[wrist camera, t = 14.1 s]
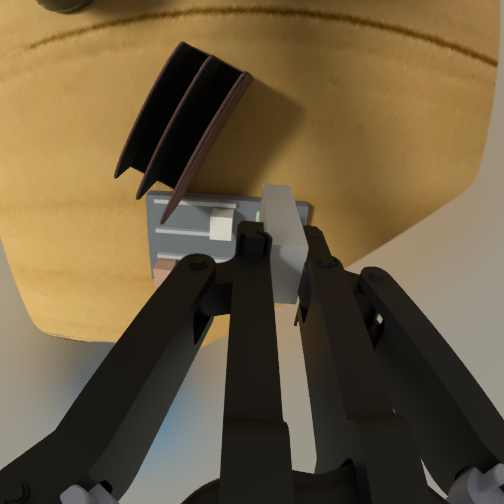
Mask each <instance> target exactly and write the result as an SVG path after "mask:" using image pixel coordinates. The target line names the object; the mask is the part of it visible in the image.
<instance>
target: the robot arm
mask: <svg viewBox="0 0 504 504" xmlns="http://www.w3.org/2000/svg"><path fill="white" fill-rule="evenodd" d="M36 1H37V2H38V3H39V5H40V6H42V7H43V8H45V9H47V10H50V11H54V12H59V13H67V12H72V11H76V10H79V9H81V8H83V7H85V6H87V5H88V4H90V3H92V2H93V1H94V0H36ZM298 295H299V300H300V302H299V306H298V310H297V314H296V318H295V322H294V326H297V322H298V321H299V326H300V332H301V340H302V346H303V353H304V360H305V367H306V375H307V381H308V389H309V397H310V404H311V412H312V420H313V428H314V437H315V445H316V454H317V462H316V467H315V472H314V474H312V473H305V472H300V471H295V470H292V464H291V449H290V436H289V428H288V425H287V423H286V422H284V421H283V415H282V403H281V387H280V374H279V361H278V348H277V336H276V323H275V311H274V303H285V304H296V302H297V298H298ZM225 314H230V325H229V339H228V353H227V368H226V383H225V399H224V415H223V431H222V450H221V468H220V478H218V479H216V480H213V481H211V482H209V483H207V484H205V485H203V486H201V487H200V488H199V489H197V490H196V491H194V492H193V493H192V494H191V495H190V496H189V497H187V498H186V499H185V500H184V501H183V502H182V503H181V504H504V420H503V418H502V417H501V415H500V414H499V412H498V411H497V410H496V408H495V407H494V405H493V404H492V402H491V401H490V399H489V398H488V397H487V395H486V394H485V392H484V391H483V389H482V388H481V387H480V385H479V384H478V383H477V381H476V380H475V378H474V377H473V376H472V375H471V373H470V372H469V370H468V369H467V368H466V367H465V366H464V364H463V362H462V361H461V360H460V358H459V357H458V356H457V355H456V353H455V352H454V351H453V349H452V348H451V347H450V346H449V344H448V343H447V342H446V341H445V339H444V338H443V337H442V336H441V334H440V333H439V332H438V331H437V329H436V328H435V327H434V326H433V325H432V323H431V322H430V321H429V320H428V319H427V317H426V316H425V315H424V314H423V313H422V311H421V310H420V309H419V308H418V306H417V305H416V304H415V303H414V302H413V301H412V300H411V299H410V297H409V296H408V295H407V294H406V293H405V291H404V290H403V289H402V288H401V287H400V286H399V285H398V283H397V282H396V281H395V280H394V279H393V278H392V277H391V276H390V275H389V274H388V273H387V272H386V271H384V270H382V269H381V268H377V267H365V268H363V269H362V271H361V273H360V275H359V274H355V273H352V272H349V271H346V270H344V268H343V265H342V263H341V262H340V260H338V259H337V258H336V257H334V256H331V253H330V251H329V248H328V245H327V244H326V240H325V239H324V235H323V233H322V231H321V230H319V229H318V228H317V227H316V226H306V225H302V223H301V220H300V217H299V213H298V210H297V207H296V203H295V200H294V197H293V194H292V191H291V187H290V186H282V185H272V184H263V188H262V197H261V205H260V213H259V222H255V221H244V220H242V221H241V222H240V223H239V224H238V226H237V236H236V248H235V255H234V256H233V258H231V259H230V260H228V261H225V262H221V263H216V262H215V260H214V259H213V258H212V257H211V256H208V255H206V254H200V253H194V254H189V255H186V256H184V257H183V258H182V259H181V260H180V261H179V262H178V263H177V265H176V266H175V267H174V268H173V270H172V271H171V272H170V273H169V275H168V276H167V277H166V279H165V280H164V281H163V282H162V284H161V285H160V286H159V287H158V289H157V290H156V291H155V293H154V294H153V295H152V296H151V298H150V299H149V300H148V302H147V303H146V304H145V306H144V307H143V308H142V309H141V311H140V312H139V313H138V315H137V316H136V317H135V319H134V320H133V321H132V323H131V324H130V325H129V327H128V328H127V329H126V331H125V332H124V333H123V335H122V336H121V337H120V339H119V340H118V341H117V343H116V344H115V345H114V347H113V348H112V350H111V351H110V352H109V354H108V355H107V356H106V358H105V359H104V361H103V362H102V363H101V365H100V366H99V367H98V369H97V370H96V372H95V373H94V374H93V376H92V377H91V379H90V380H89V381H88V383H87V384H86V386H85V387H84V389H83V390H82V392H81V393H80V394H79V396H78V397H77V399H76V400H75V402H74V403H73V404H72V406H71V407H70V409H69V410H68V412H67V413H66V415H65V416H64V418H63V419H62V421H61V422H60V424H59V425H58V427H57V428H56V430H55V431H54V432H52V433H51V434H49V435H48V436H47V437H45V438H44V439H43V440H41V441H40V442H38V443H37V444H36V445H34V446H33V447H32V448H30V449H29V450H27V451H26V452H25V453H24V454H22V455H21V456H19V457H18V458H16V459H15V460H14V461H12V462H11V463H10V464H8V465H7V466H5V467H4V468H3V469H2V470H0V504H119V502H118V501H119V500H120V499H121V497H122V496H123V495H124V493H125V492H126V491H127V490H128V488H129V487H130V485H131V483H132V482H133V480H134V478H135V476H136V475H137V473H138V471H139V469H140V467H141V465H142V463H143V460H144V459H145V457H146V455H147V453H148V451H149V449H150V446H151V445H152V443H153V440H154V438H155V436H156V434H157V432H158V430H159V428H160V426H161V424H162V422H163V420H164V418H165V416H166V414H167V412H168V410H169V408H170V406H171V404H172V402H173V400H174V398H175V396H176V394H177V392H178V390H179V388H180V386H181V384H182V382H183V380H184V378H185V376H186V374H187V372H188V370H189V368H190V366H191V364H192V362H193V360H194V358H195V356H196V354H197V352H198V350H199V348H200V346H201V344H202V342H203V340H204V338H205V336H206V334H207V332H208V330H209V328H210V326H211V324H212V322H213V319H214V316H218V315H225ZM379 314H380V316H381V317H382V319H383V320H382V323H381V324H380V323H379V322H378V320H377V317H378V315H379ZM393 409H394V411H395V413H394V411H393ZM420 457H421V458H420ZM421 459H422V461H423V463H424V465H425V467H426V468H427V470H428V472H429V473H430V475H431V476H432V478H433V480H434V481H435V482H436V483H437V485H438V486H439V487H440V489H441V490H442V491H443V492H444V493H445V494H446V495H447V496H448V497H447V498H446V499H444V498H443V497H441V496H440V495H439V494H438V493H436V492H435V491H434V490H433V489H432V488H430V487H429V486H428V485H427V481H426V477H425V473H424V469H423V465H422V462H421Z"/></svg>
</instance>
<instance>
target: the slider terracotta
mask: <svg viewBox="0 0 504 504" xmlns="http://www.w3.org/2000/svg"><path fill="white" fill-rule="evenodd" d="M175 266H176V259H165V258H158V260H157V262H156V264H155V266H154V268H153V273H154V283H155V287H159V286H160V285H161V284H162V282H163V281H164V280H165V279H166V277H167V276H168V275H169V273H170V272H171V271H172V270H173V268H174V267H175Z"/></svg>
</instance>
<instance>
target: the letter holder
mask: <svg viewBox="0 0 504 504" xmlns="http://www.w3.org/2000/svg"><path fill="white" fill-rule="evenodd" d="M252 80H253V77H252V76H251V74H250V73H248V72H246V71H245V72H243V71H241V70H239V69H237V68H235V67H233V66H232V65H230V64H228V63H226V62H224V61H222V60H220V59H218V58H217V57H215V56H214V55H210V54H208V53H205V52H203V51H201V50H199V49H197V48H195V47H192V46H191V45H189V44H187V43H185V42H183V41H182V42H180V43H179V44H178V46H177V47H176V48H175V50H174V51H173V53H172V54H171V56H170V57H169V59H168V60H167V62H166V64H165V65H164V67H163V69H162V71H161V72H160V74H159V76H158V78H157V80H156V82H155V83H154V85H153V87H152V89H151V91H150V92H149V94H148V96H147V98H146V100H145V102H144V105H143V106H142V108H141V110H140V113H139V115H138V117H137V119H136V121H135V123H134V126H133V128H132V130H131V132H130V134H129V136H128V139H127V141H126V144H125V146H124V148H123V151H122V153H121V156H120V159H119V161H118V164H117V167H116V170H115V174H114V178H115V179H116V178H118V177H119V176H120V175H121V174H122V173H123V172H125V171H126V170H127V169H128V168H129V167H132V168H134V169H136V170H138V171H140V172H143V173H144V177H143V179H142V182H141V184H140V187H139V189H138V191H137V194H136V200H139V199H140V198H141V197H142V196H143V195H144V194H145V193H146V192H147V191H148V190H149V189H150V187H151V186H152V185H153V184H154V183H155V182H156V181H159V182H162V183H163V184H165V185H167V186H169V187H171V188H173V189H175V190H174V192H173V194H172V196H171V198H170V200H169V202H168V204H167V206H166V208H165V210H164V213H163V215H162V217H161V220H160V225H162V224H165V222H166V221H167V219H168V218H169V216H170V215H171V214H172V213H173V211H174V210H175V209H176V207H177V206H178V204H179V203H180V201H181V200H182V198H183V197H184V196H185V194H186V193H187V191H188V189H189V187H190V185H191V183H192V181H193V179H194V177H195V175H196V173H197V172H198V170H199V168H200V166H201V165H202V163H203V161H204V159H205V157H206V156H207V154H208V152H209V150H210V148H211V147H212V145H213V143H214V142H215V140H216V138H217V136H218V135H219V133H220V131H221V129H222V128H223V126H224V124H225V123H226V121H227V119H228V118H229V116H230V114H231V113H232V111H233V109H234V108H235V106H236V105H237V103H238V101H239V100H240V98H241V97H242V95H243V94H244V92H245V90H246V89H247V87H248V86H249V84H250V83H251V82H252Z"/></svg>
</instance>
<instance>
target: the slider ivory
mask: <svg viewBox="0 0 504 504" xmlns="http://www.w3.org/2000/svg"><path fill="white" fill-rule="evenodd" d="M233 214H234V209H226V208H213V209H212V213H211V216H210V239H211V240H224V241H231V237H232V230H233Z"/></svg>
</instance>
